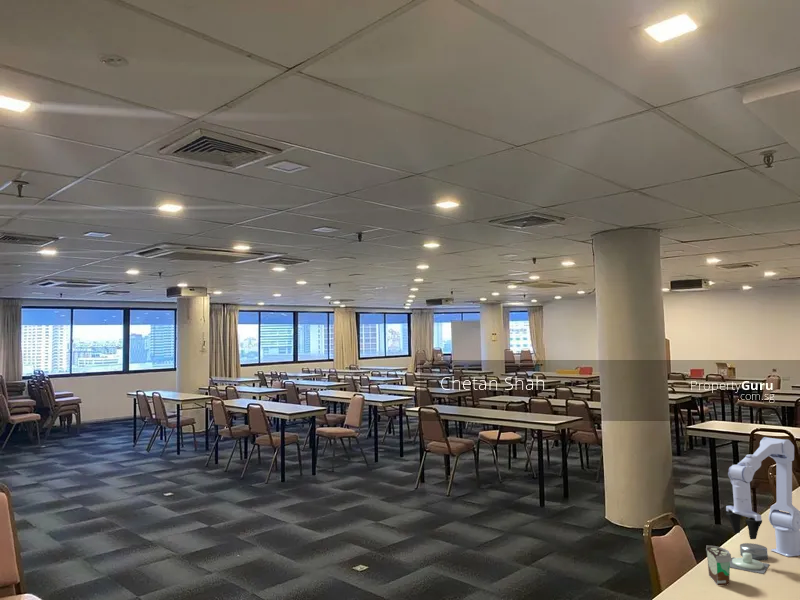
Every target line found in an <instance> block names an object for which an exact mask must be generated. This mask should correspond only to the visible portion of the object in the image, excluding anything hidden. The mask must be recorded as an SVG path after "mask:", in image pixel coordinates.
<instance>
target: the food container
mask: <svg viewBox="0 0 800 600" xmlns="http://www.w3.org/2000/svg"><path fill="white" fill-rule="evenodd" d="M705 551H706V558H707V559H706V560H707V570H708V576H709V578H710V579H711V578H712V579H713V580H714V581H713V580H712V579H711V580H712V581H713V582H714V583H715V584H716V586H717V585H724V586H728V585H730V580H731V579H730V574H731V573H730V571H731V570H730V569H731V568H730V561H731V560H732V555H731V553H730V551H729V550H727V549H726V548H722V547H720V546H716V545H706V548H705ZM727 584H728V585H727Z"/></svg>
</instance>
